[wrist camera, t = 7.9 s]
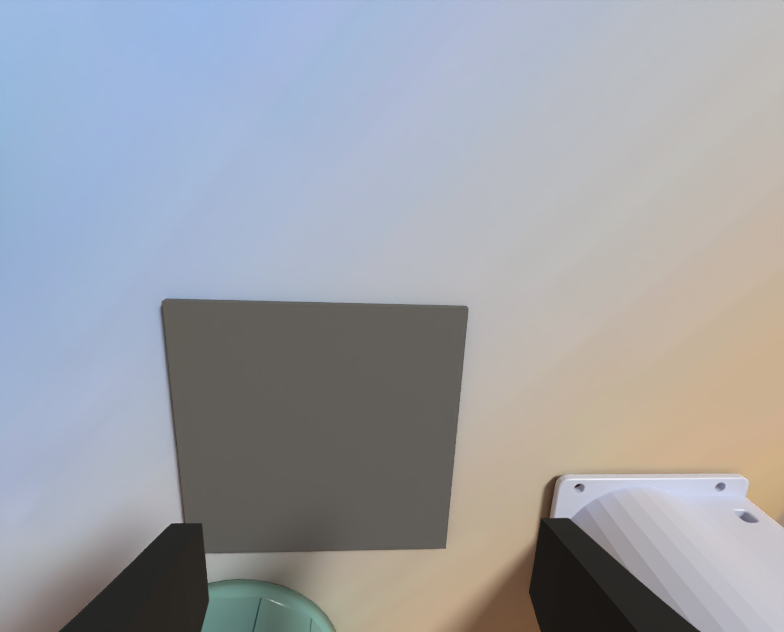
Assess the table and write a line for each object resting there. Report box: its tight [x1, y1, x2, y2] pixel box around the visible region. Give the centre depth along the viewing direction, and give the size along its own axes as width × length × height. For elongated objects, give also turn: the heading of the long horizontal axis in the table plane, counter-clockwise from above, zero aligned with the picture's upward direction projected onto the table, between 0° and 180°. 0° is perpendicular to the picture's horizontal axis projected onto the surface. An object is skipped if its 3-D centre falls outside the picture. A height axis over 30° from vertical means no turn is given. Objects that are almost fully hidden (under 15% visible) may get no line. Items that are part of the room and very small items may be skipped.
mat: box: [162, 299, 468, 553], centre depth 19 cm, size 12×12×1 cm
